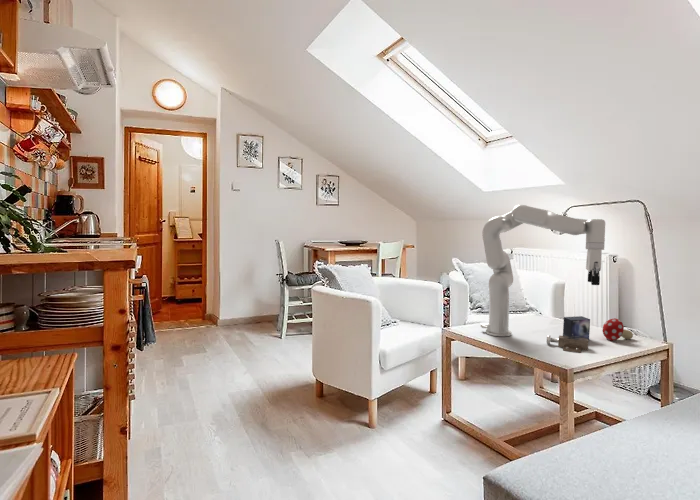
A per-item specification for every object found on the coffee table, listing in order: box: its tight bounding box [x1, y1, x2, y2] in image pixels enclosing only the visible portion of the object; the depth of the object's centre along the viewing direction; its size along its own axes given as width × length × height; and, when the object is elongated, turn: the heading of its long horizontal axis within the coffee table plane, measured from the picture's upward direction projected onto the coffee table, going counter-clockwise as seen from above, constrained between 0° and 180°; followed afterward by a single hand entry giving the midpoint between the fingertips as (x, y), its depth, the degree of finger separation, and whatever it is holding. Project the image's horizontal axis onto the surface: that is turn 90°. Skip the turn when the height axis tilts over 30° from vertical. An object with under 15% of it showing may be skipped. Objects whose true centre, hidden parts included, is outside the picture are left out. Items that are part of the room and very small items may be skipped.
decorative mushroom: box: [602, 318, 634, 342], centre depth 220 cm, size 11×11×15 cm
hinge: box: [557, 335, 589, 354], centre depth 207 cm, size 12×15×4 cm
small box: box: [562, 315, 591, 341], centre depth 222 cm, size 11×6×10 cm, turn 101°
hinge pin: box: [546, 334, 559, 345], centre depth 209 cm, size 14×4×4 cm, turn 60°
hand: (593, 283), depth 208 cm, fingers open, 9 cm apart
